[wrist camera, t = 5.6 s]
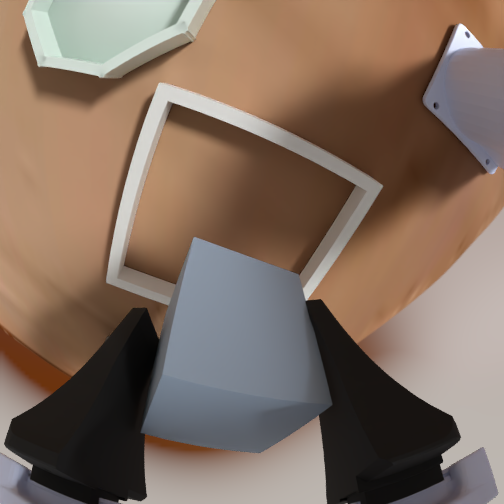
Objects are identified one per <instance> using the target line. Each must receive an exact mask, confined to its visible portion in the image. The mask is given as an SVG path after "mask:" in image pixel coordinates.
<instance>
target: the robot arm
mask: <svg viewBox="0 0 504 504" xmlns="http://www.w3.org/2000/svg"><path fill="white" fill-rule="evenodd" d="M465 34H466V35H465ZM434 103H435V104H436V107H435V109H434V106H433V105H434ZM423 104H424V105H425V107H427V108H428V109H429V110H430V111H431V112H432V113H433V114H434V115H435V116H436V117H437V118H438V119H440V120H441V121H442V122H443V123H444V124H445V125H446V126H447V127H448V128H449V129H450V130H451V131H452V132H453V133H454V134H455V135H456V136H457V138H458V139H459V140H460V141H461V142H462V143H463V144H464V145H465V146H466V147H467V148H468V149H469V151H470V152H471V153H472V154H473V155H474V156H475V157H476V159H477V160H478V161H479V162H480V163H481V165H482V166H483V167H484V168H485V169H486V171H487V172H488V173H490V174H494V173H495V171H496V169H497V167H498V166H499V167H501V168H502V169H504V49H497V48H483V46H482V45H481V44H480V43H479V42H478V40H477V39H476V38H475V37H474V36H473V35H472V34H471V33H470V31H469V30H468V29H467V28H466V27H465V26H464V25H463V24H456V25H455V27H454V30H453V32H452V35H451V37H450V39H449V42H448V44H447V46H446V49H445V51H444V53H443V56H442V58H441V60H440V62H439V64H438V67H437V69H436V71H435V73H434V75H433V77H432V79H431V81H430V84H429V86H428V88H427V90H426V92H425V94H424V96H423ZM305 302H306V306H307V309H308V313H309V317H310V320H311V323H312V326H313V328H314V332H315V336H316V340H317V344H318V347H319V351H320V355H321V359H322V363H323V367H324V371H325V375H326V379H327V383H328V387H329V392H330V396H331V400H332V404H333V405H332V406H330V407H329V408H328V409H326V410H325V411H324V412H322V413H321V414H319V418H320V426H321V433H322V441H323V450H324V462H325V474H326V497H327V504H345V503H348V504H487V503H488V502H489V501H491V500H492V499H493V498H495V497H496V496H497V495H498V490H497V487H496V484H495V480H494V477H493V473H492V470H491V467H490V464H489V461H488V458H487V455H486V452H485V449H484V448H483V447H482V448H480V449H478V450H477V451H475V452H473V453H472V454H470V455H468V456H466V457H464V458H463V459H461V460H459V461H457V462H456V463H454V464H452V465H451V466H449V467H448V468H446V469H445V470H441V467H440V464H441V463H443V459H442V456H441V454H442V453H444V452H445V451H447V450H448V449H450V448H451V447H452V446H454V445H455V444H456V443H458V441H459V440H460V438H461V436H460V433H459V431H458V428H457V425H456V423H455V421H454V419H453V417H452V416H451V415H449V414H447V413H445V412H443V411H441V410H439V409H437V408H435V407H433V406H431V405H430V404H428V403H426V402H425V401H423V400H422V399H420V398H418V397H417V396H415V395H413V394H412V393H411V392H410V391H408V390H407V389H406V388H404V387H403V386H401V385H400V384H399V383H397V382H396V381H395V380H394V379H392V378H391V377H390V376H389V375H388V374H386V373H385V372H384V371H383V370H382V369H381V368H380V367H378V365H376V364H375V363H374V362H373V361H372V360H371V359H370V358H369V357H368V356H367V355H366V354H365V352H363V351H362V349H361V348H360V347H359V346H358V345H357V344H356V343H355V342H354V340H353V339H352V338H351V337H350V336H349V335H348V333H347V332H346V331H345V330H344V329H343V327H342V326H341V325H340V324H339V322H338V321H337V320H336V318H335V317H334V316H333V315H332V313H331V312H330V311H329V309H328V308H327V306H326V305H325V304H324V302H323V301H322V300H321V299H319V300H307V301H305ZM158 344H159V339H158V336H157V334H156V331H155V329H154V326H153V323H152V321H151V318H150V316H149V313H148V310H147V308H133V309H132V310H131V311H130V312H129V313H128V314H127V316H126V317H125V318H124V319H123V321H122V322H121V323H120V324H119V325H118V327H117V328H116V329H115V330H114V332H113V333H112V334H111V335H110V336H109V338H108V339H107V340H106V341H105V342H104V344H103V345H102V346H101V347H100V348H99V349H98V351H97V352H96V353H95V354H94V355H93V356H92V357H91V358H90V360H89V361H88V362H87V363H86V364H85V365H84V366H83V367H82V368H81V369H80V370H79V371H78V372H77V373H76V374H75V375H74V376H73V377H72V378H71V379H70V380H68V381H67V382H66V383H65V384H64V385H63V386H61V387H60V388H59V389H58V390H56V391H55V392H54V393H53V394H52V395H50V396H49V397H48V398H46V399H45V400H43V401H42V402H40V403H39V404H37V405H36V406H34V407H33V408H31V409H29V410H28V411H26V412H24V413H22V414H21V415H19V416H17V417H15V418H13V419H12V421H11V424H10V427H9V430H8V433H7V436H6V439H5V443H4V445H5V446H6V448H8V449H9V450H10V451H12V452H13V453H15V454H16V455H18V456H19V457H21V458H22V459H24V460H26V461H27V462H29V463H31V464H33V467H32V471H31V470H29V469H28V468H27V467H25V466H23V465H21V464H20V463H18V462H16V461H14V460H12V459H11V458H9V457H7V456H6V455H4V454H2V453H0V504H121V503H118V501H119V500H123V501H127V499H132V500H137V501H142V500H143V499H145V498H146V497H147V494H146V484H145V469H144V441H145V434H144V433H140V432H141V426H142V420H143V415H144V409H145V404H146V399H147V394H148V389H149V384H150V379H151V374H152V370H153V365H154V361H155V357H156V352H157V348H158Z"/></svg>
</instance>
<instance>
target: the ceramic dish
mask: <svg viewBox="0 0 504 504" xmlns="http://www.w3.org/2000/svg"><path fill="white" fill-rule="evenodd" d="M215 1H216V0H29V2H28V4H27V6H26V8H25V10H24V11H23V15H24V18H25V22H26V26H27V30H28V33H29V37H30V40H31V44H32V47H33V50H34V53H35V56H36V59H37V62H38V64H37V65H38V66H39V67H53V68H59V69H65V70H71V71H76V72H81V73H86V74H91V75H96V76H99V78H122V77H123V75H125V74H127V73H128V72H130V71H132V70H134V69H135V68H137V67H139V66H141V65H143V64H145V63H146V62H148V61H150V60H152V59H154V58H156V57H158V56H160V55H162V54H164V53H166V52H168V51H170V50H173V49H175V48H177V47H179V46H181V45H184V44H186V43H188V42H193V41H194V40H195V39H196V38H195V37H196V35H197V33H198V31H199V29H200V28H201V26H202V24H203V22H204V20H205V18H206V17H207V15H208V13H209V11H210V10H211V8H212V6H213V4H214V3H215Z"/></svg>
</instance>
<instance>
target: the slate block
mask: <svg viewBox="0 0 504 504" xmlns="http://www.w3.org/2000/svg"><path fill="white" fill-rule="evenodd" d="M305 301H306V299H305V295H304V292H303V288H302V285H301V281H300V278H299V274H296V273H294V272H291V271H288V270H285V269H282V268H280V267H277V266H274V265H271V264H268V263H266V262H263V261H260V260H257V259H254V258H252V257H249V256H246V255H243V254H241V253H238V252H235V251H232V250H229V249H227V248H224V247H221V246H218V245H216V244H213V243H210V242H207V241H204V240H202V239H199V238H196V237H194V238H193V241H192V243H191V246H190V248H189V251H188V254H187V256H186V259H185V262H184V264H183V267H182V270H181V272H180V275H179V278H178V281H177V283H176V286H175V289H174V292H173V295H172V297H171V300H170V303H169V306H168V309H167V312H166V315H165V319H164V323H163V327H162V331H161V335H160V339H159V344H158V348H157V352H156V357H155V361H154V365H153V370H152V374H151V379H150V384H149V389H148V394H147V399H146V404H145V409H144V415H143V420H142V426H141V432H140V433H144V434H148V435H151V436H156V437H159V438H163V439H168V440H173V441H177V442H182V443H187V444H192V445H197V446H203V447H210V448H217V449H224V450H232V451H241V452H252V453H261V452H263V451H264V450H266V449H268V448H269V447H271V446H273V445H274V444H276V443H278V442H279V441H281V440H283V439H284V438H286V437H287V436H289V435H290V434H292V433H293V432H295V431H296V430H298V429H299V428H301V427H302V426H304V425H305V424H307V423H308V422H309V421H311V420H312V419H314V418H315V417H317V416H318V415H319V414H321V413H322V412H324V411H325V410H326V409H328V408H329V407H330V406H332V405H333V404H332V400H331V396H330V392H329V387H328V383H327V379H326V375H325V371H324V367H323V363H322V359H321V355H320V351H319V347H318V344H317V340H316V336H315V332H314V328H313V326H312V323H311V320H310V317H309V313H308V309H307V306H306V302H305Z"/></svg>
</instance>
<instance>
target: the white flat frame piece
mask: <svg viewBox="0 0 504 504" xmlns="http://www.w3.org/2000/svg"><path fill="white" fill-rule="evenodd" d="M173 103H175V104H178V105H181V106H184V107H187V108H190V109H193V110H195V111H198V112H201V113H204V114H206V115H209V116H212V117H214V118H217V119H219V120H222V121H224V122H227V123H229V124H232V125H234V126H237V127H239V128H242V129H244V130H246V131H249V132H251V133H253V134H256V135H258V136H260V137H263V138H265V139H267V140H269V141H271V142H274V143H276V144H278V145H280V146H282V147H284V148H286V149H289V150H291V151H293V152H295V153H297V154H299V155H301V156H303V157H305V158H307V159H309V160H311V161H313V162H315V163H317V164H319V165H321V166H323V167H324V168H326V169H328V170H330V171H332V172H334V173H336V174H338V175H339V176H341V177H343V178H345V179H347V180H348V181H350V182H352V183H354V184H355V185H356V186H355V188H354V190H353V191H352V193H351V195H350V196H349V198H348V200H347V201H346V203H345V205H344V206H343V208H342V210H341V211H340V213H339V214H338V216H337V218H336V219H335V221H334V222H333V224H332V226H331V227H330V229H329V230H328V232H327V234H326V235H325V237H324V238H323V240H322V241H321V243H320V245H319V246H318V248H317V249H316V251H315V252H314V254H313V255H312V257H311V259H310V260H309V262H308V263H307V265H306V266H305V268H304V269H303V271H302V272H301V274H300V275H299V278H300V281H301V285H302V288H303V292H304V295H305V299H306V301H307V299H308V298H309V297H310V295H311V294H312V293H313V291H314V290H315V288H316V287H317V286H318V284H319V283H320V281H321V280H322V279H323V277H324V276H325V274H326V273H327V272H328V270H329V269H330V267H331V266H332V264H333V263H334V262H335V260H336V259H337V257H338V256H339V254H340V253H341V251H342V250H343V248H344V247H345V245H346V244H347V242H348V241H349V239H350V238H351V236H352V235H353V233H354V232H355V230H356V229H357V227H358V226H359V224H360V223H361V221H362V219H363V218H364V216H365V215H366V213H367V212H368V210H369V208H370V207H371V205H372V204H373V202H374V200H375V199H376V197H377V196H378V194H379V192H380V191H381V189H382V187H383V185H382V184H380V183H379V182H378V181H376V180H375V179H374V178H372V177H371V176H369V175H368V174H366V173H364V172H363V171H361V170H359V169H358V168H356V167H354V166H353V165H351V164H349V163H347V162H346V161H344V160H342V159H340V158H339V157H337V156H335V155H333V154H332V153H330V152H328V151H326V150H324V149H322V148H320V147H319V146H317V145H315V144H313V143H311V142H309V141H307V140H305V139H303V138H301V137H299V136H297V135H295V134H293V133H291V132H289V131H287V130H285V129H283V128H281V127H279V126H276V125H274V124H272V123H270V122H268V121H265V120H263V119H261V118H259V117H256V116H254V115H252V114H249V113H247V112H245V111H242V110H240V109H238V108H235V107H233V106H230V105H228V104H225V103H222V102H220V101H217V100H215V99H212V98H209V97H206V96H204V95H201V94H198V93H195V92H192V91H189V90H186V89H184V88H180V87H177V86H174V85H171V84H168V83H160V82H159V85H158V87H157V89H156V92H155V94H154V97H153V100H152V102H151V105H150V107H149V110H148V113H147V116H146V118H145V121H144V124H143V127H142V130H141V133H140V136H139V139H138V142H137V145H136V148H135V152H134V155H133V158H132V162H131V165H130V169H129V172H128V176H127V180H126V183H125V187H124V191H123V195H122V199H121V203H120V208H119V212H118V217H117V221H116V226H115V231H114V236H113V241H112V247H111V253H110V259H109V265H108V271H107V278H106V283H108V284H111V285H113V286H116V287H119V288H121V289H124V290H127V291H129V292H132V293H135V294H137V295H140V296H143V297H146V298H149V299H151V300H154V301H157V302H160V303H163V304H166V305H169V303H170V300H171V297H172V295H173V292H174V289H175V286H176V284H173V283H170V282H167V281H164V280H161V279H159V278H156V277H153V276H150V275H147V274H145V273H142V272H139V271H136V270H134V269H131V268H128V267H126V266H124V263H125V258H126V253H127V249H128V244H129V240H130V236H131V231H132V227H133V223H134V219H135V215H136V212H137V208H138V204H139V201H140V197H141V194H142V190H143V187H144V183H145V180H146V177H147V174H148V170H149V167H150V164H151V161H152V158H153V155H154V152H155V149H156V146H157V143H158V141H159V138H160V135H161V132H162V129H163V127H164V124H165V121H166V119H167V116H168V114H169V111H170V109H171V106H172V104H173Z"/></svg>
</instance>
